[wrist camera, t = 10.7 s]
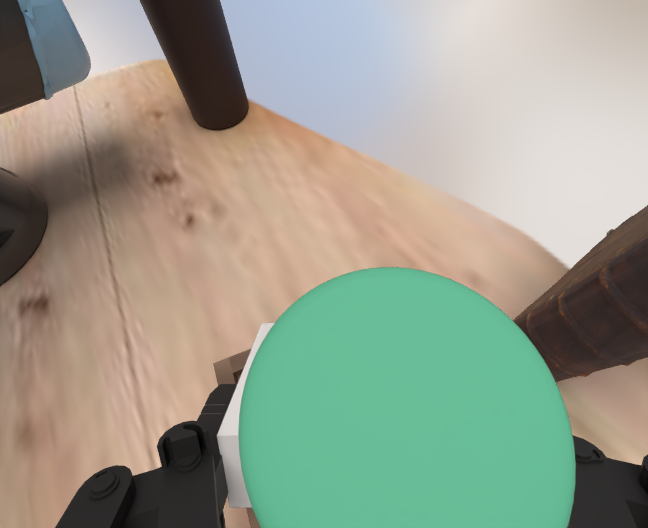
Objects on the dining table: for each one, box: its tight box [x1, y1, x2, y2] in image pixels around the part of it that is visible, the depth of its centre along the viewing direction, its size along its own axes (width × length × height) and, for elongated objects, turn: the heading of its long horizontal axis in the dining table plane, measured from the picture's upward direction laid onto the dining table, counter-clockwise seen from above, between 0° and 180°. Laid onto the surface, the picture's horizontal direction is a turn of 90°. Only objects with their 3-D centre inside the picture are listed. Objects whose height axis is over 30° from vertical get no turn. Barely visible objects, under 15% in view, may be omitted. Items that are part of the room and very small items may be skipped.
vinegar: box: [140, 0, 248, 129], centre depth 33 cm, size 7×7×20 cm
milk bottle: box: [238, 267, 576, 528], centre depth 13 cm, size 8×8×20 cm
